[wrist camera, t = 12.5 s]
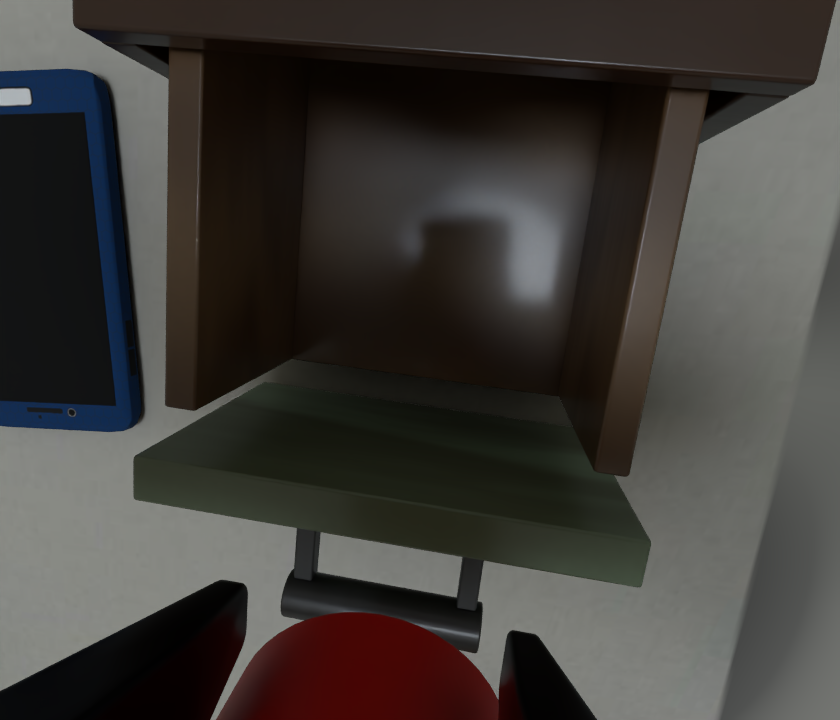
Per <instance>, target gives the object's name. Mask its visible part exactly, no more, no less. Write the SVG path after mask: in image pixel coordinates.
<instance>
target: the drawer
mask: <svg viewBox="0 0 840 720" xmlns="http://www.w3.org/2000/svg"><path fill="white" fill-rule="evenodd" d="M709 92H710V90H707V89H694V88H681V87H669V86H656V85H644V84H631V83H619V82H606V81H593V80H581V79H568V78H556V77H543V76H530V75H518V74H505V73H493V72H480V71H468V70H455V69H442V68H430V67H417V66H405V65H392V64H380V63H367V62H354V61H342V60H329V59H317V58H304V57H292V56H279V55H266V54H254V53H241V52H229V51H216V50H203V49H191V48H178V47H169V102H168V196H167V290H166V384H165V405H166V406H167V407H173V408H179V409H186V410H192V411H194V410H197V409H199V408H201V407H203V406H204V405H206V404H208V403H210V402H212V401H214V400H216V399H218V398H219V397H221V396H223V395H225V394H227V393H229V392H231V391H233V390H234V389H236V388H238V387H240V386H242V385H244V384H246V383H248V382H249V381H251V380H253V379H255V378H257V377H259V376H261V375H262V374H264V373H266V372H268V371H270V370H272V369H274V368H276V367H277V366H279V365H281V364H283V363H285V362H287V361H289V360H291V359H296V360H303V361H310V362H317V363H324V364H331V365H338V366H346V367H353V368H360V369H367V370H374V371H381V372H388V373H395V374H403V375H410V376H417V377H424V378H431V379H438V380H445V381H452V382H460V383H467V384H474V385H481V386H488V387H495V388H502V389H509V390H517V391H524V392H531V393H538V394H545V395H552V396H558V397H559V399H560V401H561V403H562V405H563V407H564V409H565V411H566V414H567V416H568V418H569V420H570V422H571V424H572V426H573V427H569V426H562V425H555V424H549V423H542V422H535V421H528V420H521V419H514V418H507V417H501V416H494V415H487V414H480V413H473V412H466V411H459V410H453V409H446V408H439V407H432V406H425V405H418V404H411V403H405V402H398V401H391V400H384V399H377V398H370V397H363V396H357V395H350V394H343V393H336V392H329V391H322V390H315V389H309V388H302V387H295V386H288V385H281V384H274V383H267V382H264V383H262V384H260V385H258V386H256V387H255V388H253V389H251V390H249V391H248V392H246V393H244V394H242V395H241V396H239V397H237V398H235V399H234V400H232V401H230V402H228V403H227V404H225V405H223V406H221V407H220V408H218V409H216V410H214V411H213V412H211V413H209V414H207V415H206V416H204V417H202V418H200V419H199V420H197V421H195V422H194V423H192V424H190V425H188V426H187V427H185V428H183V429H181V430H180V431H178V432H176V433H174V434H173V435H171V436H169V437H167V438H166V439H164V440H162V441H160V442H159V443H157V444H155V445H153V446H152V447H150V448H148V449H146V450H145V451H143V452H141V453H139V454H138V455H136V456H135V457H134V499H135V500H139V501H145V502H151V503H157V504H162V505H168V506H174V507H180V508H185V509H191V510H197V511H203V512H208V513H214V514H220V515H225V516H231V517H237V518H243V519H248V520H254V521H260V522H266V523H271V524H277V525H283V526H289V527H294V528H297V536H296V551H295V565H294V569H293V570H292V571H291V572H290V574H289V576H288V578H287V581H286V583H285V586H284V590H283V594H282V599H281V614H282V615H283V616H284V617H290V618H295V619H300V620H307V619H310V618H313V617H318V616H322V615H326V614H333V613H341V612H366V613H374V614H382V615H386V616H390V617H394V618H398V619H402V620H405V621H407V622H410V623H413V624H415V625H418V626H420V627H422V628H424V629H426V630H428V631H430V632H432V633H434V634H436V635H438V636H439V637H441V638H442V639H444V640H445V641H447V642H448V643H450V644H452V645H453V646H454V647H455V648H456V649H458V650H461V651H466V652H472V653H477V651H478V647H479V641H480V634H481V625H482V612H483V605H482V603H481V602H478V595H479V588H480V582H481V575H482V568H483V562H484V561H490V562H495V563H501V564H507V565H512V566H518V567H524V568H530V569H535V570H541V571H547V572H553V573H558V574H564V575H570V576H576V577H581V578H587V579H593V580H599V581H604V582H610V583H616V584H622V585H627V586H633V587H641V586H642V582H643V578H644V573H645V569H646V564H647V560H648V555H649V551H650V547H651V541H650V539H649V537H648V536H647V534H646V532H645V530H644V528H643V527H642V525H641V523H640V521H639V519H638V518H637V516H636V514H635V512H634V510H633V509H632V507H631V505H630V503H629V501H628V500H627V498H626V496H625V494H624V492H623V491H622V489H621V487H620V485H619V484H618V482H617V480H616V478H615V476H614V475H617V476H624V477H626V476H628V475H629V473H630V469H631V464H632V459H633V455H634V450H635V445H636V440H637V436H638V431H639V426H640V421H641V417H642V412H643V407H644V402H645V398H646V393H647V388H648V383H649V378H650V374H651V369H652V364H653V359H654V355H655V350H656V345H657V340H658V336H659V331H660V326H661V321H662V316H663V312H664V307H665V302H666V297H667V293H668V288H669V283H670V278H671V274H672V269H673V264H674V259H675V255H676V250H677V245H678V240H679V235H680V231H681V226H682V221H683V216H684V212H685V207H686V202H687V197H688V193H689V188H690V183H691V178H692V173H693V169H694V164H695V159H696V154H697V150H698V145H699V140H700V135H701V131H702V126H703V121H704V116H705V112H706V107H707V102H708V97H709ZM320 532H323V533H329V534H335V535H340V536H346V537H352V538H358V539H363V540H369V541H375V542H380V543H386V544H392V545H398V546H403V547H409V548H415V549H421V550H426V551H432V552H438V553H444V554H449V555H455V556H461V557H463V558H462V565H461V571H460V578H459V585H458V592H457V598H456V597H451V596H445V595H440V594H434V593H429V592H423V591H418V590H412V589H407V588H401V587H396V586H390V585H385V584H379V583H374V582H368V581H363V580H357V579H352V578H346V577H341V576H335V575H330V574H324V573H319V572H317V569H318V557H319V544H320Z"/></svg>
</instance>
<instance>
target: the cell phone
mask: <svg viewBox="0 0 840 720" xmlns="http://www.w3.org/2000/svg"><path fill="white" fill-rule="evenodd" d="M140 413H141V399H140V389H139V379H138V370H137V360H136V350H135V340H134V330H133V320H132V311H131V301H130V291H129V281H128V271H127V261H126V252H125V242H124V232H123V222H122V212H121V202H120V193H119V183H118V173H117V163H116V153H115V143H114V134H113V124H112V115H111V106H110V101H109V96H108V91H107V87H106V85H105V83H104V81H102V80H101V79H100V78H98V77H97V76H96V75H94V74H93V73H90V72H87V71H85V70H73V69H52V70H27V71H1V72H0V426H7V427H26V428H44V429H63V430H82V431H101V432H115V431H124V430H127V429H129V428H132V427H133V426H134V425H136V424H137V422H138V419H139V416H140Z"/></svg>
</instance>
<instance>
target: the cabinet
mask: <svg viewBox="0 0 840 720" xmlns="http://www.w3.org/2000/svg"><path fill="white" fill-rule="evenodd" d="M835 3H836V0H73V23H74V26H75V27H76V28H78V29H79V30H81V31H83V32H85V33H87V34H89V35H91V36H92V37H94V38H96V39H98V40H100V41H102V43H104V44H105V45H107V46H109V47H111V48H113V49H115V50H116V51H118V52H120V53H122V54H124V55H126V56H127V57H129V58H131V59H133V60H135V61H137V62H139V63H140V64H142V65H144V66H146V67H148V68H150V69H151V70H153V71H155V72H157V73H159V74H161V75H163V76H164V77H166V78H168V79H169V47H178V48H191V49H203V50H216V51H229V52H241V53H254V54H266V55H279V56H292V57H304V58H317V59H329V60H342V61H354V62H367V63H380V64H392V65H405V66H417V67H430V68H442V69H455V70H468V71H480V72H493V73H505V74H518V75H530V76H543V77H556V78H568V79H581V80H593V81H606V82H619V83H631V84H644V85H656V86H669V87H681V88H694V89H707V90H710V92H709V97H708V102H707V107H706V112H705V116H704V121H703V126H702V131H701V135H700V140H699V144H700V143H702V142H704V141H706V140H708V139H710V138H712V137H714V136H715V135H717V134H719V133H721V132H723V131H725V130H727V129H729V128H731V127H733V126H735V125H737V124H738V123H740V122H742V121H744V120H746V119H748V118H750V117H752V116H754V115H756V114H758V113H760V112H762V111H763V110H765V109H767V108H769V107H771V106H773V105H775V104H777V103H779V102H781V101H783V100H785V99H786V98H788V97H789V96H791V95H794V94H796V93H797V92H799V91H801V90H803V89H805V88H807V87H809V86H811V85H813V84H814V83H815V81H816V79H817V76H818V72H819V68H820V63H821V59H822V55H823V51H824V47H825V43H826V39H827V35H828V31H829V27H830V23H831V19H832V15H833V11H834V7H835Z"/></svg>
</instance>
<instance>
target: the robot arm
mask: <svg viewBox="0 0 840 720" xmlns="http://www.w3.org/2000/svg"><path fill="white" fill-rule="evenodd" d="M247 600H248V591H247V587H246V586H245V585H244V584H243V583H238V582H233V581H227V580H219V581H217V582H214V583H213V584H211V585H209V586H207V587H205V588H203V589H201V590H199V591H197V592H195V593H193V594H191V595H189V596H187V597H185V598H183V599H181V600H179V601H177V602H175V603H173V604H171V605H169V606H167V607H165V608H163V609H161V610H159V611H157V612H155V613H153V614H151V615H149V616H148V617H146V618H144V619H142V620H140V621H138V622H136V623H134V624H132V625H130V626H128V627H126V628H124V629H122V630H120V631H118V632H116V633H114V634H112V635H110V636H108V637H106V638H104V639H102V640H100V641H98V642H96V643H94V644H92V645H90V646H88V647H86V648H84V649H82V650H81V651H79V652H77V653H75V654H73V655H71V656H69V657H67V658H65V659H63V660H61V661H59V662H57V663H55V664H53V665H51V666H49V667H47V668H45V669H43V670H41V671H39V672H37V673H35V674H33V675H31V676H29V677H27V678H25V679H23V680H21V681H19V682H17V683H15V684H13V685H12V686H10V687H8V688H6V689H4V690H2V691H0V720H210V719H211V717H212V714H213V712H214V710H215V708H216V705H217V703H218V701H219V699H220V696H221V694H222V692H223V690H224V687H225V685H226V683H227V681H228V678H229V676H230V674H231V672H232V669H233V667H234V665H235V663H236V660H237V658H238V656H239V654H240V651H241V649H242V646H243V643H244V640H245V636H246V627H247ZM498 720H597V719H596V718H595V716H594V715H593V713H592V712H591V710H590V709H589V708H588V706H587V705H586V703H585V702H584V701H583V699H582V698H581V696H580V695H579V693H578V692H577V691H576V689H575V688H574V686H573V685H572V684H571V682H570V681H569V679H568V678H567V676H566V675H565V674H564V672H563V671H562V669H561V668H560V666H559V665H558V664H557V662H556V661H555V659H554V658H553V657H552V655H551V654H550V652H549V651H548V649H547V648H546V647H545V645H544V644H543V642H542V641H541V640H540V638H539V637H538V636H537V635H535V634H531V633H525V632H520V631H514V630H512V631H510V632H509V633H508V635H507V639H506V645H505V652H504V658H503V664H502V670H501V677H500V685H499V710H498Z"/></svg>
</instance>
